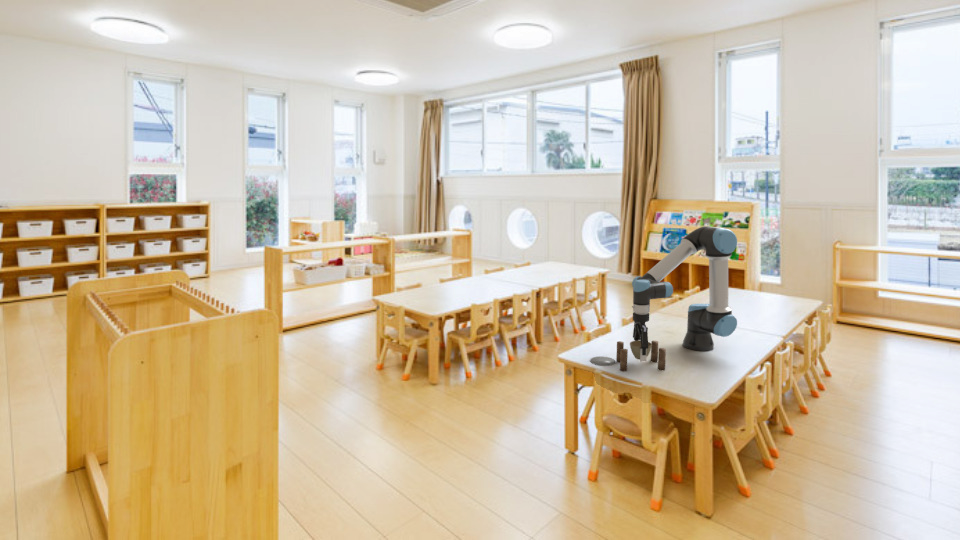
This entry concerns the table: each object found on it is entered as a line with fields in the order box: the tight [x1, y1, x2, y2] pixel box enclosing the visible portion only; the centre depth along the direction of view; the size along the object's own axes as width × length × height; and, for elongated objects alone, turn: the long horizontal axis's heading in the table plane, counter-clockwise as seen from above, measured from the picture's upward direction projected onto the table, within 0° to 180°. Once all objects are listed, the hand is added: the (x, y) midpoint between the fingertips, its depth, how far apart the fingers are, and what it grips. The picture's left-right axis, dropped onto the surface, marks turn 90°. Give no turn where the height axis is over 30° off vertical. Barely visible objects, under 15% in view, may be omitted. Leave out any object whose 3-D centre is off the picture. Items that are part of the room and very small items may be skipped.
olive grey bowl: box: [629, 340, 652, 360], centre depth 250 cm, size 10×10×7 cm
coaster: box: [590, 356, 617, 367], centre depth 258 cm, size 12×12×1 cm
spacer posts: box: [615, 340, 667, 372], centre depth 250 cm, size 21×15×10 cm
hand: (639, 357), depth 251 cm, fingers closed on olive grey bowl, 10 cm apart
